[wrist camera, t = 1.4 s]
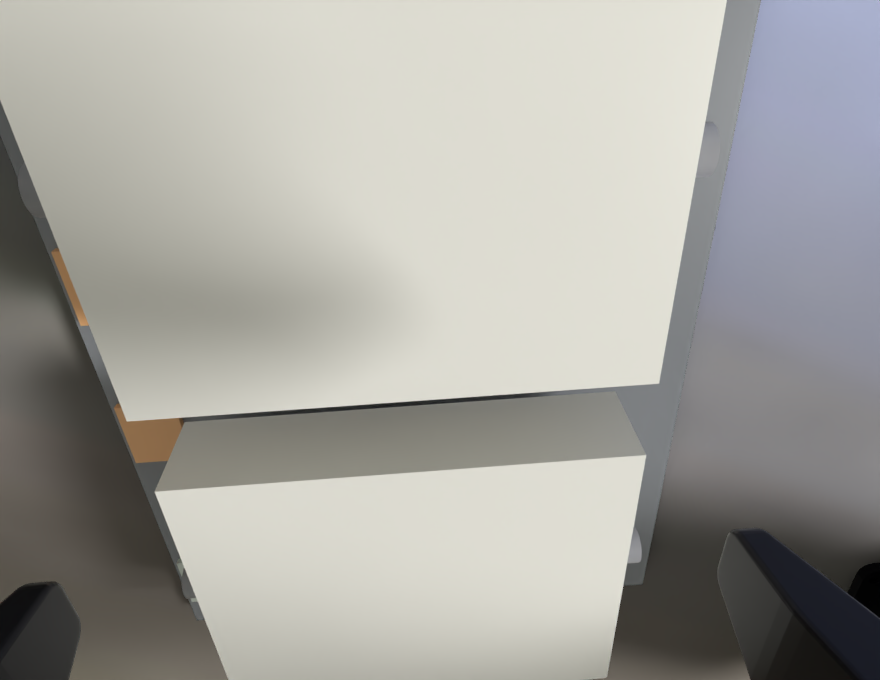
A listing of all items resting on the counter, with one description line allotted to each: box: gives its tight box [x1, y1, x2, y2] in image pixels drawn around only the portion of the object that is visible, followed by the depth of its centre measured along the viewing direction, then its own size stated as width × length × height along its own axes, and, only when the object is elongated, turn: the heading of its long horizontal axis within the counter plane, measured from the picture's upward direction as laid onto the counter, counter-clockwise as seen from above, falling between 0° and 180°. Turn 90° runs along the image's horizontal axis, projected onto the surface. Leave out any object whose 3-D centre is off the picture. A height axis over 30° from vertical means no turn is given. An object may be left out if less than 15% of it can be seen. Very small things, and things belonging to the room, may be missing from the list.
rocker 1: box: [0, 0, 727, 422], centre depth 12 cm, size 9×12×2 cm
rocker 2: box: [155, 391, 646, 680], centre depth 18 cm, size 9×12×2 cm
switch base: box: [0, 0, 761, 620], centre depth 17 cm, size 22×16×1 cm
